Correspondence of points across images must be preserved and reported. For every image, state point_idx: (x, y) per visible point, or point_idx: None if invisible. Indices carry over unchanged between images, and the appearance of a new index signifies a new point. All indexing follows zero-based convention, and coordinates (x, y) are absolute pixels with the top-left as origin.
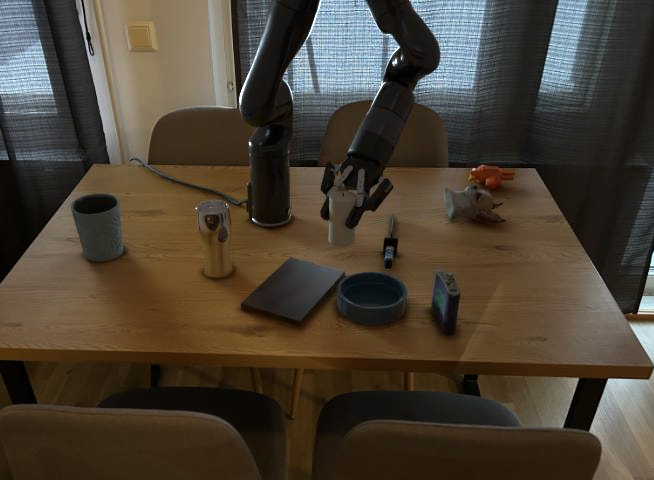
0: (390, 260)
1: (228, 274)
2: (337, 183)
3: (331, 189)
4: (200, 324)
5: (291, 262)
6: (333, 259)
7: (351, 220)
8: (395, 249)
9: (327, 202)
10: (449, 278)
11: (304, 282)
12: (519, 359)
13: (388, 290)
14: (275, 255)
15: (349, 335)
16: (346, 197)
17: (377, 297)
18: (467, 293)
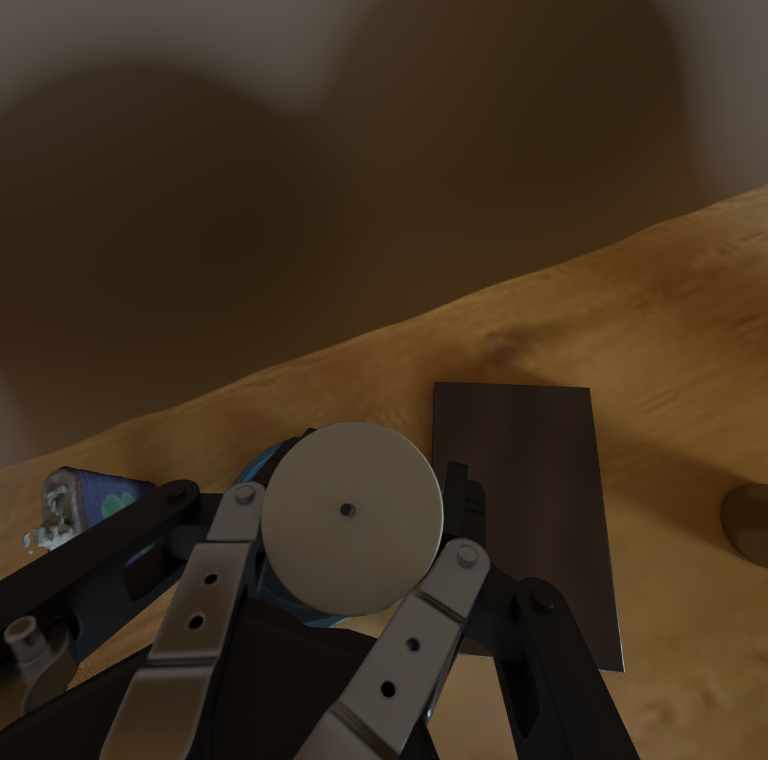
0: None
1: (722, 514)
2: (427, 612)
3: (470, 591)
4: (620, 318)
5: (599, 635)
6: (504, 753)
7: None
8: None
9: (459, 513)
10: (51, 525)
11: (504, 537)
12: (20, 465)
13: (287, 597)
14: (687, 697)
15: (333, 405)
16: (323, 499)
17: None
18: None
